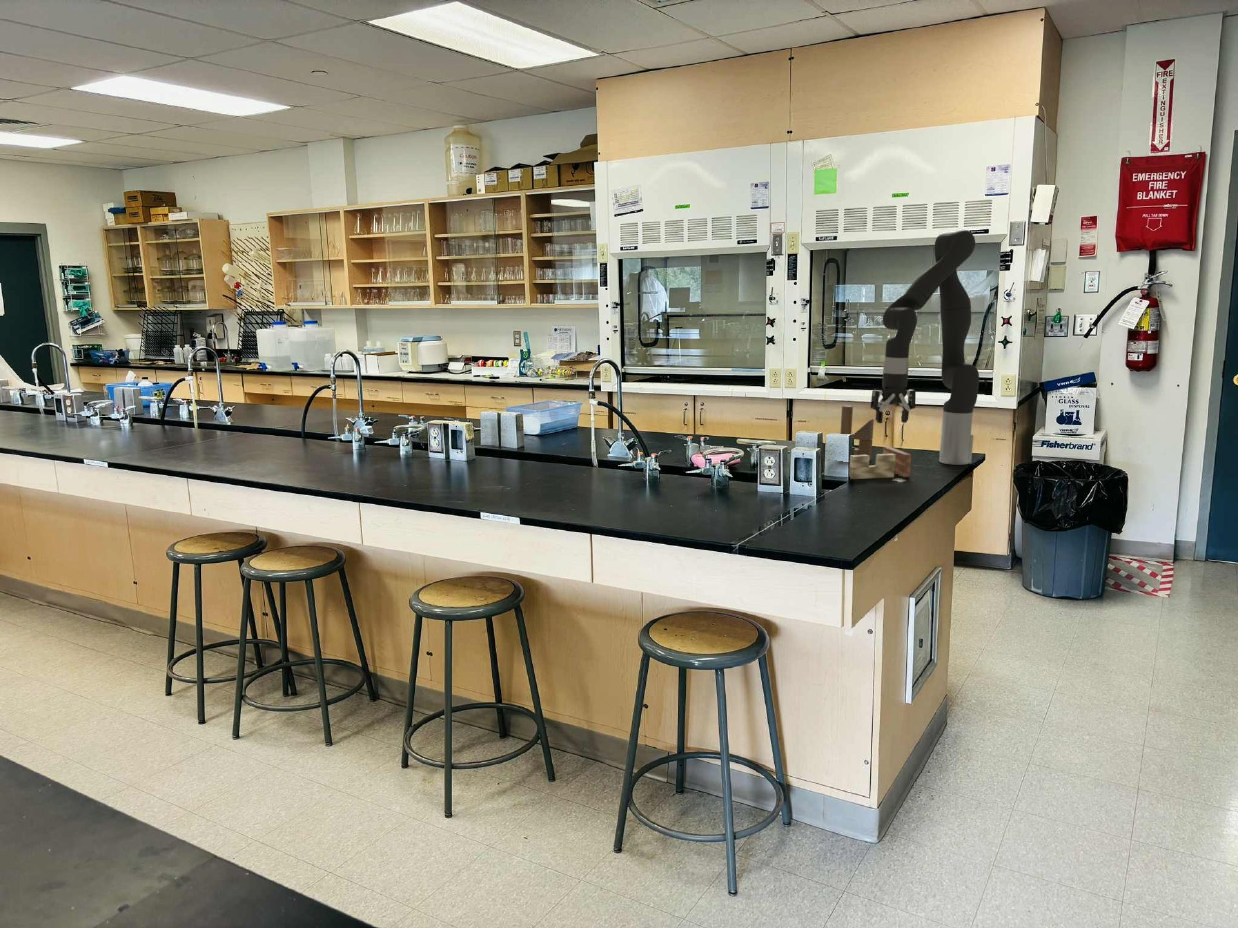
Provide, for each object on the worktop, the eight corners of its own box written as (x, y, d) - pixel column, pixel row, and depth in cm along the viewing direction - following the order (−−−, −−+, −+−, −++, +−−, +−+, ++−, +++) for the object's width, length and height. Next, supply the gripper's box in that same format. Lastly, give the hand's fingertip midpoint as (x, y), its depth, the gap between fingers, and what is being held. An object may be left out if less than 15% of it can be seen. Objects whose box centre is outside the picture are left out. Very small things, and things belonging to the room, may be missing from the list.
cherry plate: (888, 467, 280) (889, 446, 278) (909, 476, 267) (911, 454, 266) (882, 468, 279) (883, 447, 278) (903, 476, 267) (904, 454, 266)
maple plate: (890, 475, 269) (891, 453, 267) (894, 477, 267) (895, 454, 265) (848, 477, 266) (850, 455, 265) (852, 479, 264) (853, 456, 262)
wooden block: (868, 461, 289) (871, 408, 286) (837, 458, 295) (839, 406, 292) (871, 460, 292) (874, 407, 289) (840, 456, 298) (843, 404, 295)
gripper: (909, 370, 276) (905, 420, 279) (869, 370, 273) (865, 421, 277) (922, 372, 269) (918, 424, 272) (880, 373, 266) (876, 425, 269)
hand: (891, 422), depth 274 cm, fingers open, 8 cm apart
